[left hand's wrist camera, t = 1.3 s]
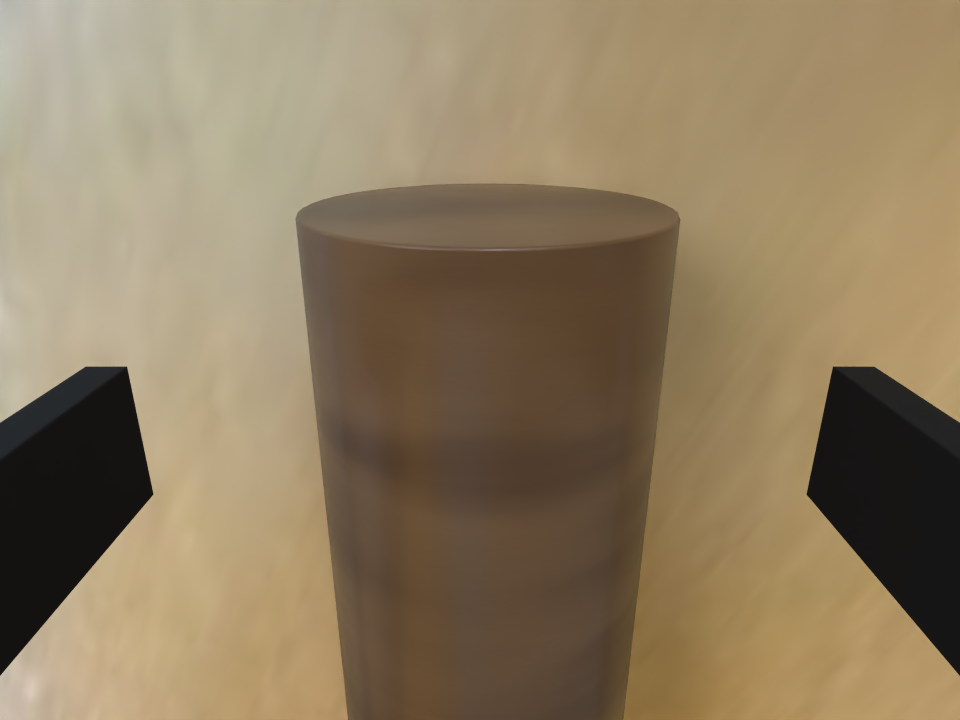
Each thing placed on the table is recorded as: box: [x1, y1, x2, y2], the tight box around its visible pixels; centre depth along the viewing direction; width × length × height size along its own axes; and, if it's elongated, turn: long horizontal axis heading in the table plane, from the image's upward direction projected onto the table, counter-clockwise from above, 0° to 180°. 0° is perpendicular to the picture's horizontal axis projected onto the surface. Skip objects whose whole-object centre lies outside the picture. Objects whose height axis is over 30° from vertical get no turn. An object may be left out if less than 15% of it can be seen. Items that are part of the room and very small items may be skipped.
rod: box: [296, 184, 680, 720], centre depth 20 cm, size 27×8×8 cm, turn 0°
